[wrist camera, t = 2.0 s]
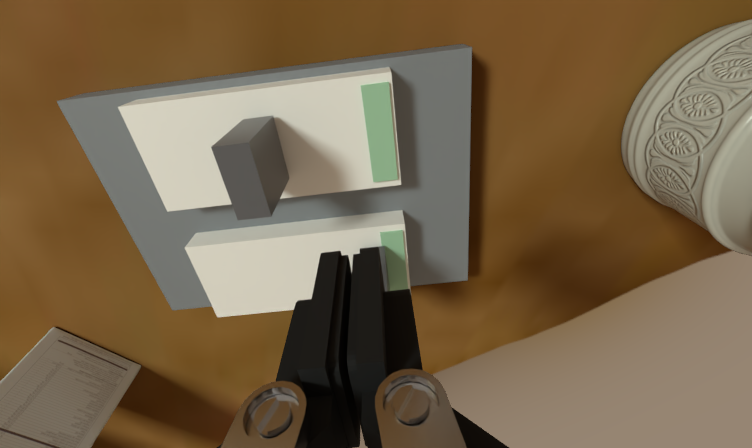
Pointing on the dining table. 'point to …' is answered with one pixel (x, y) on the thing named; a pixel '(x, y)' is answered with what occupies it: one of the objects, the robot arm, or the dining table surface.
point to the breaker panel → (419, 160)
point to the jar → (699, 134)
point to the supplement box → (61, 393)
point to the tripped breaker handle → (252, 167)
